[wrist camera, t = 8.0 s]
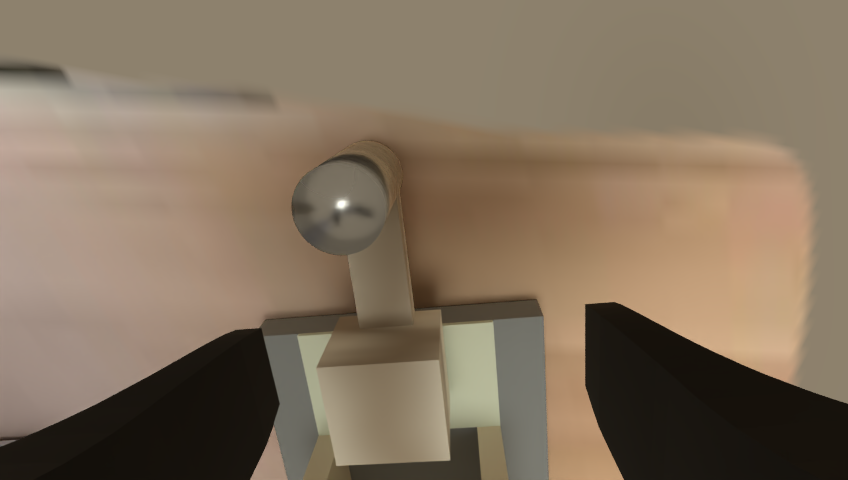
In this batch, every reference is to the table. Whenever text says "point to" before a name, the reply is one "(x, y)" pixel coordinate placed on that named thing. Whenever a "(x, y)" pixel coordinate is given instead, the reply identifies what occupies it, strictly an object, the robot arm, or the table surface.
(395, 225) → the sliding block with knob
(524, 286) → the table surface
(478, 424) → the tunnel deck
